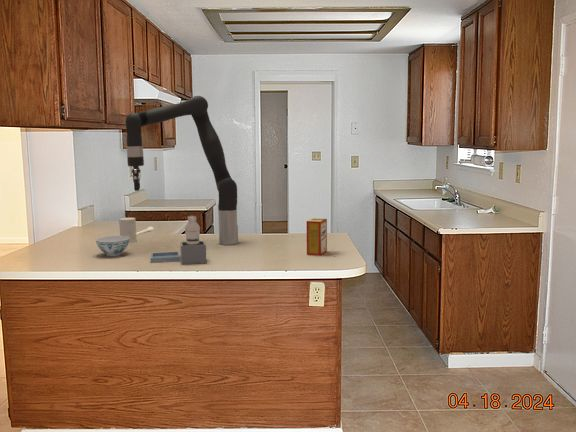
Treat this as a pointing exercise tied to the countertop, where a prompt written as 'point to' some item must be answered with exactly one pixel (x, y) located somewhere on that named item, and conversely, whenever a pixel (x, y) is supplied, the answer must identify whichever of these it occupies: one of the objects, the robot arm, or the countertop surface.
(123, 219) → the cup
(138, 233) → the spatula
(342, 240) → the countertop surface
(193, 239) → the plastic bottle
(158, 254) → the tray
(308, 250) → the baking soda box
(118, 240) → the chinaware
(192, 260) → the holder
